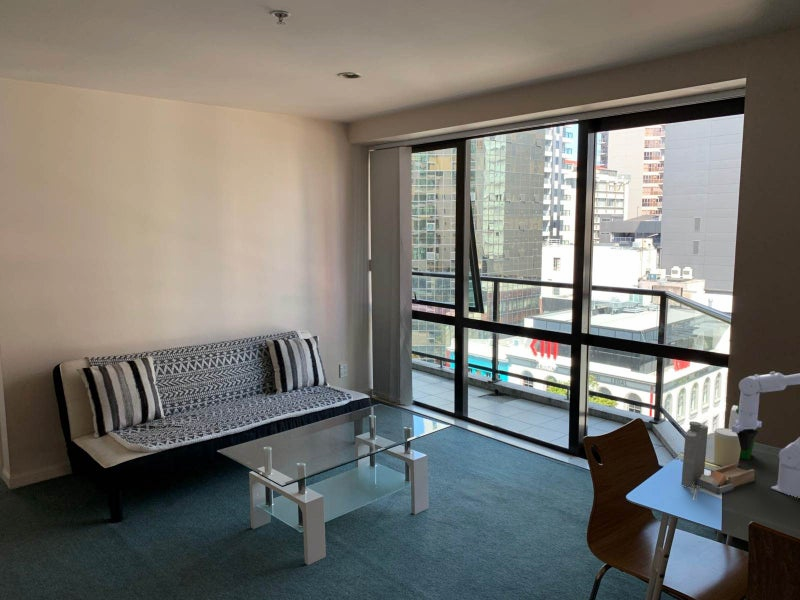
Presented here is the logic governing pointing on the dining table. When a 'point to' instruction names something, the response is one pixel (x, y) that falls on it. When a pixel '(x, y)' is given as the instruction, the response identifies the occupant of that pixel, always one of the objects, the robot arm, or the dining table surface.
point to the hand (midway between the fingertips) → (744, 449)
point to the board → (736, 474)
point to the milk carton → (731, 423)
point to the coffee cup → (726, 447)
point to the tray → (714, 487)
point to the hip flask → (694, 453)
